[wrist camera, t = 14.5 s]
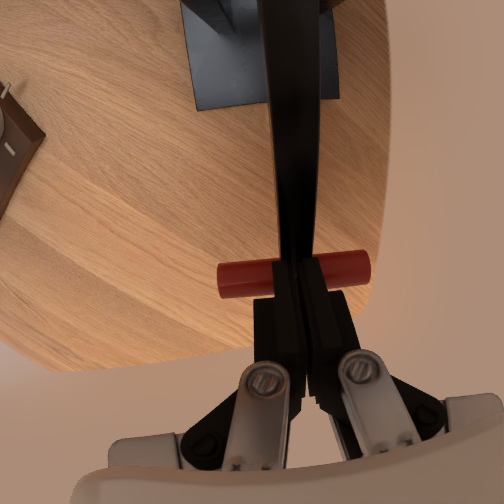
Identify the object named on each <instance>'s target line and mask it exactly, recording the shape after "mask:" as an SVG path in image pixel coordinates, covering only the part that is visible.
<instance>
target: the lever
mask: <svg viewBox="0 0 504 504" xmlns="http://www.w3.org/2000/svg"><path fill="white" fill-rule="evenodd" d="M256 2H257V10H258V19H259V27H260V36H261V45H262V54H263V63H264V73H265V83H266V93H267V103H268V114H269V125H270V137H271V148H272V160H273V173H274V186H275V200H276V214H277V229H278V245H279V258H271V259H260V260H250V261H239V262H228V263H219V264H218V267H217V285H218V291H219V294H220V297H221V298H222V299H226V298H239V297H251V296H263V295H274V284H273V274H272V263H271V261H279V260H286V261H287V264H289V263H293V268H294V274H295V279H296V285H297V263H299V262H302V258H309V257H318V259H319V263H320V266H321V269H322V273H323V276H324V279H325V283H326V286H327V289H332V288H340V287H349V286H357V285H365V284H368V283H369V281H370V277H371V265H370V259H369V256H368V254H367V252H366V251H365V250H353V251H343V252H333V253H323V254H312V253H313V242H314V229H315V216H316V201H317V185H318V166H319V141H320V96H321V64H320V21H319V0H256ZM297 290H298V287H297Z"/></svg>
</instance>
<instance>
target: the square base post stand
mask: <svg viewBox="0 0 504 504" xmlns="http://www.w3.org/2000/svg"><path fill="white" fill-rule="evenodd" d="M179 1H180V5H181V13H182V20H183V27H184V33H185V40H186V47H187V53H188V60H189V66H190V72H191V79H192V85H193V91H194V97H195V103H196V109H197V111H204V110H210V109H217V108H224V107H231V106H239V105H247V104H257V103H267V93H266V83H265V73H264V63H263V54H262V45H261V36H260V27H259V19H258V10H257V2H256V0H179ZM344 1H345V0H319V21H320V64H321V96H320V99H340V93H339V76H338V62H337V50H336V39H335V30H334V21H333V12H332V8H334V7H335V6H337V5H339V4H340V3H342V2H344Z"/></svg>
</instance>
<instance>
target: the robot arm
mask: <svg viewBox="0 0 504 504" xmlns="http://www.w3.org/2000/svg"><path fill="white" fill-rule="evenodd" d="M271 263H272V274H273V284H274V295H275V297H273V298H262V299H254V301H253V310H254V363H253V364H252V365H250V366H249V367H247V368H246V369H245V370H244V372H243V373H242V376H241V378H240V382H239V387H238V389H237V390H236V391H235V392H234V393H233V394H231V395H230V396H229V397H228V398H227V399H226V400H224V401H223V402H222V403H221V404H220V405H218V406H217V407H216V408H215V409H214V410H212V411H211V412H210V413H209V414H207V415H206V416H205V417H204V418H203V419H201V420H200V421H199V422H198V423H196V424H195V425H194V426H193V427H191V428H190V429H189V430H188V431H187V432H186V433H181V434H175V433H174V432H173V433H167V434H160V435H152V436H144V437H135V438H125V439H120V440H117V441H116V442H114V443H113V444H112V445H111V447H110V448H109V452H108V468H105V469H101V470H97V471H94V472H91V473H89V474H87V475H85V476H83V477H82V478H81V479H80V480H79V481H78V483H77V484H76V486H75V488H74V490H73V493H72V496H71V499H70V502H69V504H504V407H503V404H502V401H501V399H500V398H499V397H498V396H497V395H495V394H493V393H485V394H477V395H469V396H459V397H447V398H445V400H437V399H436V398H434V397H432V396H430V395H429V394H426V393H425V392H423V391H421V390H419V389H417V388H415V387H413V386H411V385H409V384H407V383H405V382H403V381H401V380H399V379H397V378H396V377H394V376H392V375H390V374H389V372H388V370H387V368H386V366H385V364H384V362H383V361H382V359H381V358H380V356H378V355H377V354H376V353H374V352H372V351H369V350H365V349H361V347H360V344H359V340H358V337H357V334H356V331H355V327H354V324H353V322H352V318H351V315H350V312H349V308H348V305H347V302H346V299H345V296H344V294H343V291H342V290H337V291H329V292H328V290H327V286H326V283H325V279H324V276H323V273H322V269H321V266H320V263H319V259H318V257H309V258H302V262H299V263H297V285H296V279H295V274H294V268H293V263H289V264H287V261H286V260H279V261H271ZM297 287H298V290H297ZM306 375H307V381H308V389H309V396H310V397H312V396H315V399H316V404H319V406H320V409H322V410H323V411H325V412H327V413H328V414H329V419H330V422H331V425H332V428H333V431H334V434H335V437H336V440H337V443H338V446H339V449H340V452H341V455H342V458H343V462H337V463H331V464H324V465H317V466H310V467H301V468H291V469H286V468H287V459H288V450H289V440H290V430H291V421H292V420H293V419H294V418H295V416H297V415H298V413H299V412H300V411H301V401H302V398H304V397H305V390H306Z"/></svg>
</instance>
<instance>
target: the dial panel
mask: <svg viewBox="0 0 504 504" xmlns="http://www.w3.org/2000/svg"><path fill="white" fill-rule="evenodd" d="M10 86H11V84H10V82H8V84H7V85H6V87H5V88H4V87H3V85H2V84H1V83H0V108H1V110H2V113H3V117H4V131H3V135H2V137H1V139H0V219H1V217H2V215H3V213H4V210H5V208H6V206H7V204H8V202H9V200H10V198H11V196H12V194H13V192H14V190H15V188H16V186H17V184H18V182H19V180H20V178H21V176H22V174H23V172H24V171H25V169H26V167H27V165H28V164H29V162H30V160H31V158H32V157H33V155H34V153H35V152H36V150H37V148H38V147H39V145H40V144H41V142H42V140H43V139H44V137H45V134H44V133H43V132H42V131H41V130H40V129H39V128H38V126H37V125H36V124H35V123H34V122H33V121H32V120H31V118H30V117H29V116H28V115H27V114H26V113H25V112H24V110H23V109H22V108H21V107H20V106H19V105H18V103H17V102H16V101H15V100H14V99H13V97H12V96H11V95H10V94H9V93H8V90H9V88H10Z"/></svg>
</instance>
